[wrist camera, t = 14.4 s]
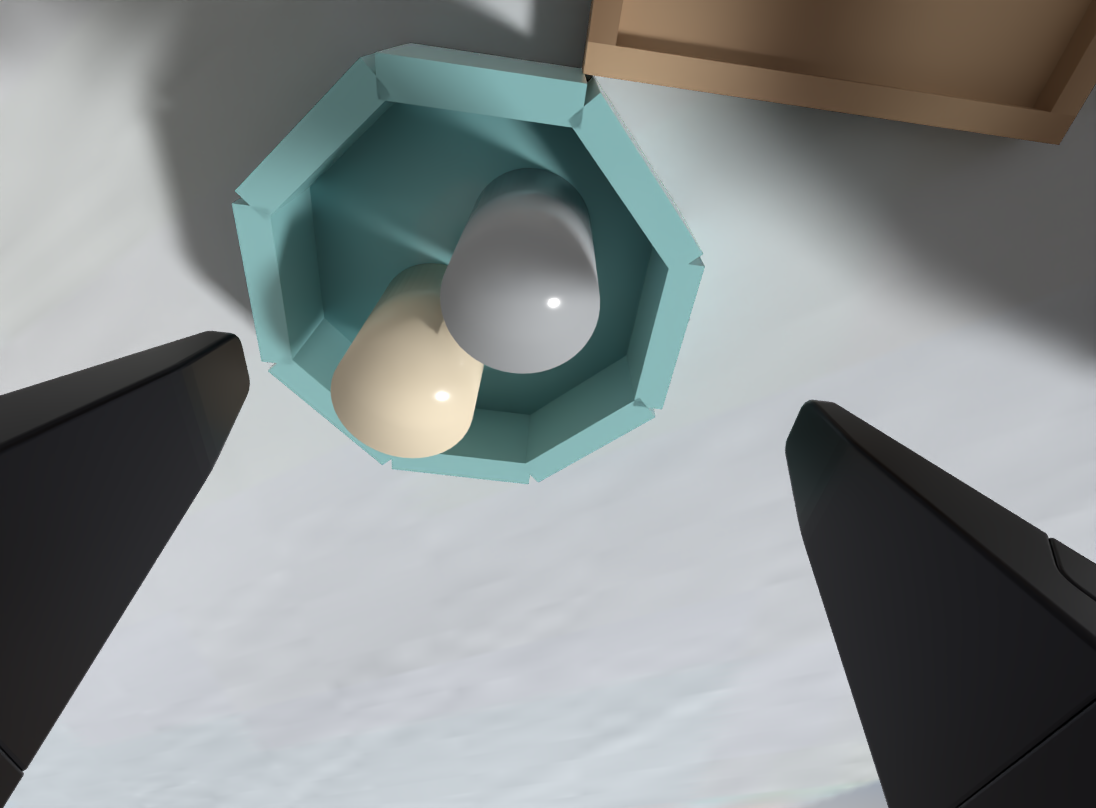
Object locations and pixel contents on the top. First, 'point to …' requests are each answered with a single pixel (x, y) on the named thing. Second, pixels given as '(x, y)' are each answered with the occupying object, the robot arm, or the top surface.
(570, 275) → the grey rounded cylinder
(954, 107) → the parts tray
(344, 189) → the bowl
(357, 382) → the sand beige cylinder
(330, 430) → the top surface
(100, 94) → the top surface
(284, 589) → the top surface
